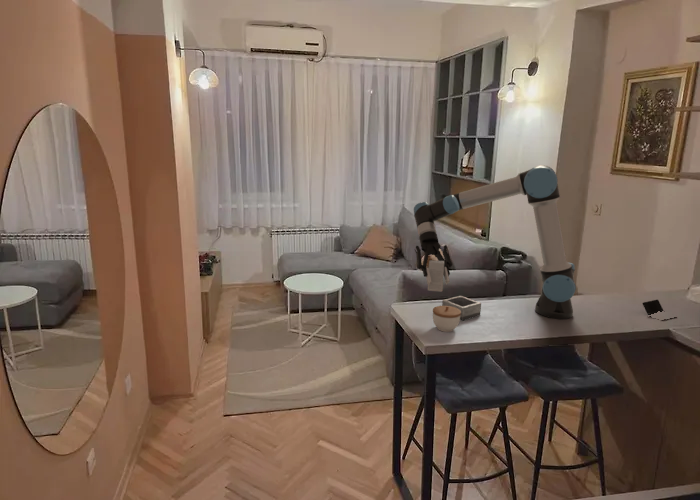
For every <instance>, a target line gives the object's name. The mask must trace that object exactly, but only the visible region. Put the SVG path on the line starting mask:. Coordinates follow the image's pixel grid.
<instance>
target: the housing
mask: <svg viewBox="0 0 700 500" xmlns="http://www.w3.org/2000/svg"><path fill="white" fill-rule="evenodd" d="M441 306H451V307H455V308H457V309H459V310H460V311H461V315H460V321H462V320H463V321H465V319H466V320H468V319H469V318H470V319H473V318H476V317H479V316H481V312H482V311H481V310H482V303H481V302H480V301H476V300H473V299H472V298H469V297H466V296H463V295H458V296H453V297H449V298H446V299H442V302H441ZM472 317H473V318H472Z"/></svg>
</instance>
